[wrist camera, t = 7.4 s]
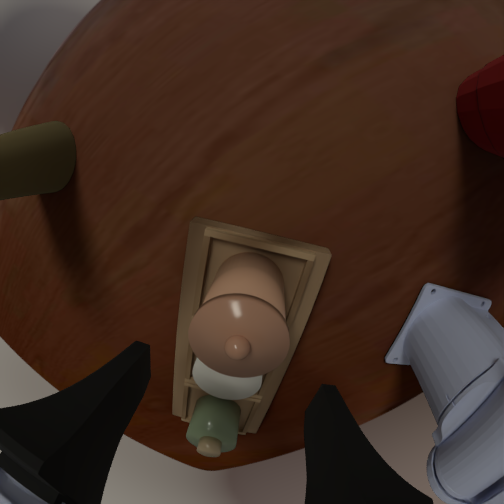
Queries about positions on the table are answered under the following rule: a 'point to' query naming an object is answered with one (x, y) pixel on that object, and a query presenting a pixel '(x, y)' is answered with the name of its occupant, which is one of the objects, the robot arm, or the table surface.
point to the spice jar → (242, 318)
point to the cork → (36, 160)
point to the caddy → (197, 286)
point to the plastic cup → (484, 107)
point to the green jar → (214, 425)
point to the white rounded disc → (224, 383)
